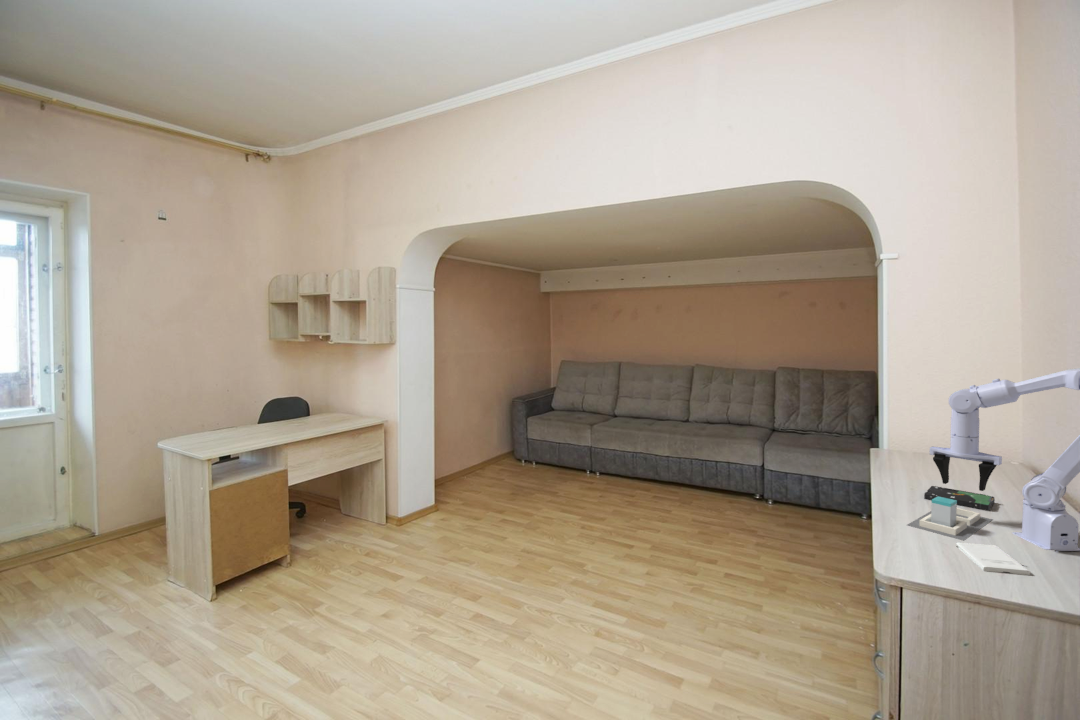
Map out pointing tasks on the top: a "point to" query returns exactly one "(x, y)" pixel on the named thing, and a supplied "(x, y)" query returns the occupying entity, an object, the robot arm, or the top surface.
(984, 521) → the mat
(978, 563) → the external hard drive
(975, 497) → the disk drive
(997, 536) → the top surface
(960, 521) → the frame
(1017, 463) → the top surface
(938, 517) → the plug
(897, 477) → the top surface
